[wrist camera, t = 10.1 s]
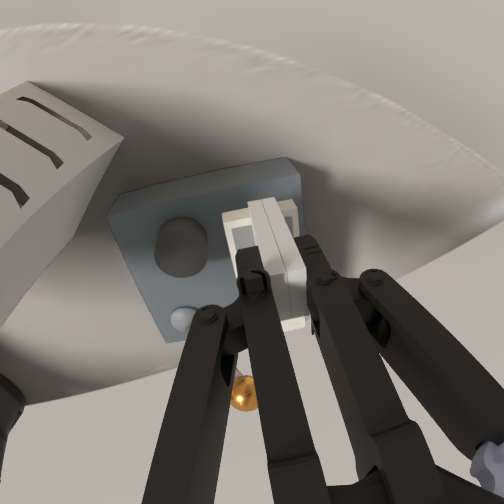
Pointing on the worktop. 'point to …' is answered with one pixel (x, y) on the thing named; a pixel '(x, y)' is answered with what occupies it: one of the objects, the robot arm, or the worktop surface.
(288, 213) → the white flat bar
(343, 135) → the worktop surface
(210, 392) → the robot arm
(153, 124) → the worktop surface
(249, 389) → the lever
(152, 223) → the panel
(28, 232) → the grater
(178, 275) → the button
